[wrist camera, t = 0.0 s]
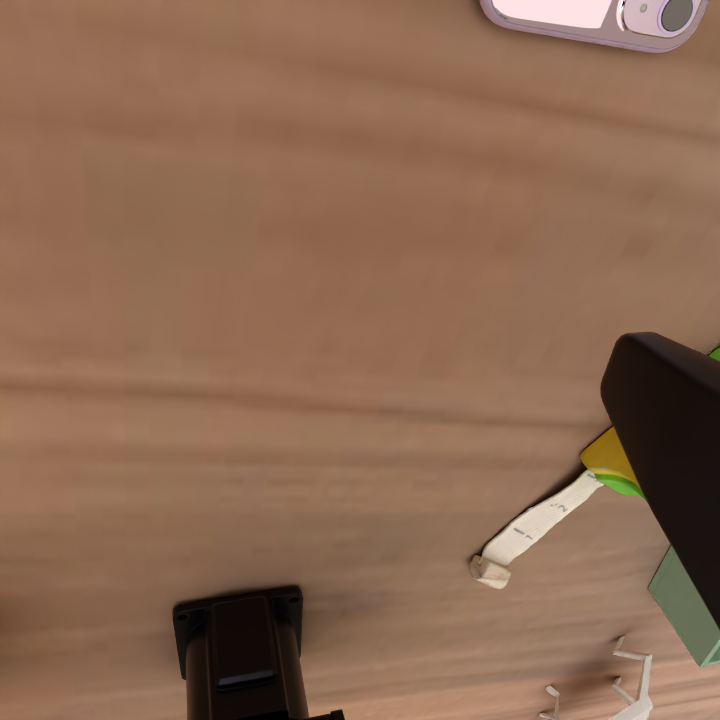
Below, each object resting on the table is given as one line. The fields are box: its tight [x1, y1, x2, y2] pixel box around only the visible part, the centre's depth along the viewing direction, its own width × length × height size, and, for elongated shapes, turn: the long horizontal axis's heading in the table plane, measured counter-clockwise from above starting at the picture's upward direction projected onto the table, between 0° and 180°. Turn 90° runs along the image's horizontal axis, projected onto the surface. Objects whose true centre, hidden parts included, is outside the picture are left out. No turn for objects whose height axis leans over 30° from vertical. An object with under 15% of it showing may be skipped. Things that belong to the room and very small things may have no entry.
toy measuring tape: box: [469, 347, 720, 589], centre depth 32 cm, size 6×20×7 cm, turn 137°
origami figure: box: [539, 635, 653, 720], centre depth 48 cm, size 12×8×5 cm
